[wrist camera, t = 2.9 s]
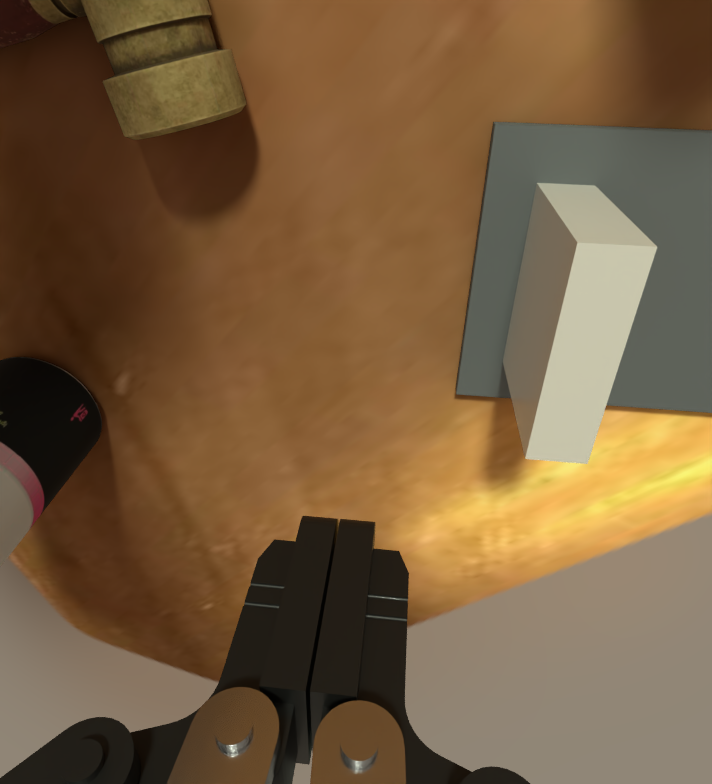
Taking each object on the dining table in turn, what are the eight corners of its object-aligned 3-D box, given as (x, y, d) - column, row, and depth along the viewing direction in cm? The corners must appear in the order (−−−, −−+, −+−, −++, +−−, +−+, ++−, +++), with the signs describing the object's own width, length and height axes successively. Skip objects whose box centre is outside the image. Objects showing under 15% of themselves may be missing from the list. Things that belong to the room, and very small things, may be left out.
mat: (455, 387, 28) (456, 394, 28) (493, 122, 22) (495, 124, 21) (751, 408, 27) (757, 416, 27) (885, 137, 21) (897, 140, 20)
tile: (502, 361, 26) (525, 458, 21) (536, 182, 22) (577, 242, 16) (553, 364, 26) (590, 463, 20) (597, 185, 22) (661, 247, 16)
